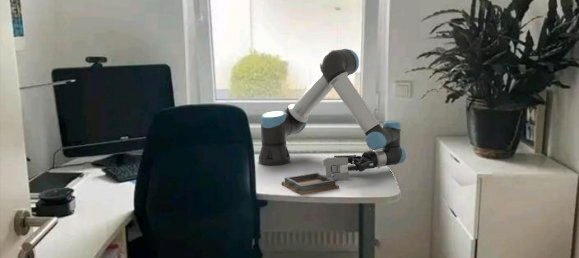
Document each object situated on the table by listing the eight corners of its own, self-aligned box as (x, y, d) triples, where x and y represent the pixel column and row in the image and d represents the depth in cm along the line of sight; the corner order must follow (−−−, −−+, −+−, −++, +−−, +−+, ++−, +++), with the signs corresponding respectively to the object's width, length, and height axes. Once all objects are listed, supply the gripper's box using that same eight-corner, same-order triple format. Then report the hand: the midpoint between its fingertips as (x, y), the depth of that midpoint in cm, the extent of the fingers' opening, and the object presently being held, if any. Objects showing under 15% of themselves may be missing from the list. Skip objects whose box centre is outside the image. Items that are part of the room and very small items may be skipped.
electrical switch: (325, 180, 232) (325, 158, 232) (325, 178, 238) (325, 156, 237) (348, 180, 232) (348, 158, 231) (347, 178, 237) (347, 156, 236)
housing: (281, 184, 228) (281, 177, 228) (317, 178, 236) (317, 171, 235) (301, 195, 213) (301, 187, 213) (339, 188, 221) (339, 180, 221)
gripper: (391, 174, 232) (348, 181, 222) (357, 161, 254) (316, 168, 244) (391, 156, 231) (348, 163, 221) (357, 145, 252) (316, 151, 243)
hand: (331, 165), depth 233 cm, fingers open, 13 cm apart
